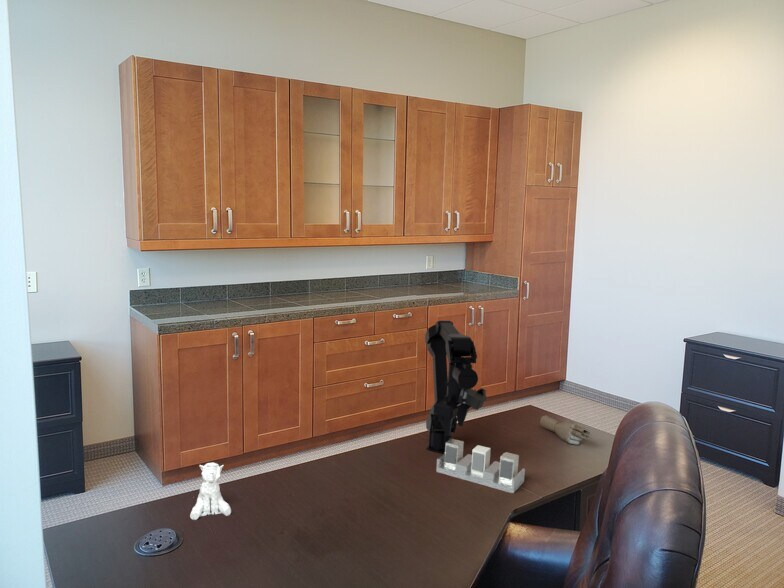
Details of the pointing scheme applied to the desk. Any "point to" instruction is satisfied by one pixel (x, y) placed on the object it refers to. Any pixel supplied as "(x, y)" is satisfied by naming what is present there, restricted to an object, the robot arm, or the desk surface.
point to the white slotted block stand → (494, 476)
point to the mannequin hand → (565, 430)
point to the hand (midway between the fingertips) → (454, 430)
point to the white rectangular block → (480, 459)
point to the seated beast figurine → (210, 493)
